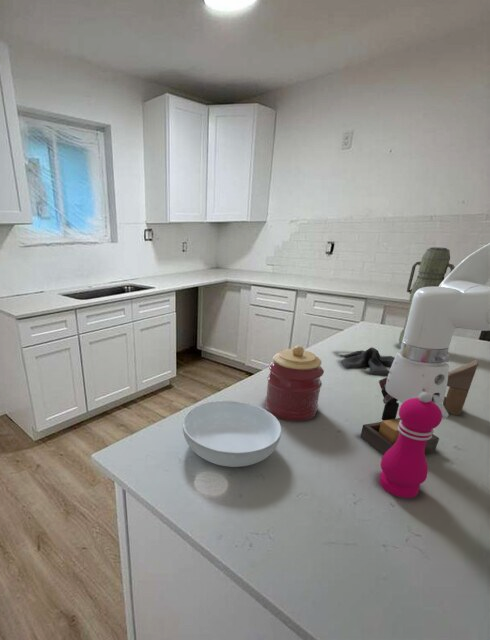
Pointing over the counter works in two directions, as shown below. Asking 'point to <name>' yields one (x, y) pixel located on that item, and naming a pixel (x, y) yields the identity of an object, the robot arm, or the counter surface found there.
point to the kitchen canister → (294, 384)
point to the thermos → (428, 274)
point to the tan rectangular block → (390, 429)
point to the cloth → (368, 361)
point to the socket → (383, 444)
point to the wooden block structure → (459, 387)
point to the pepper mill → (410, 447)
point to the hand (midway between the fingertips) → (402, 428)
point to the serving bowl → (231, 432)
